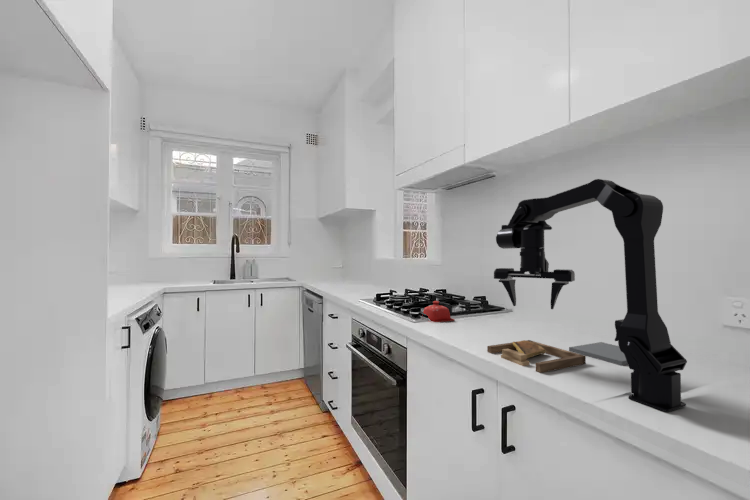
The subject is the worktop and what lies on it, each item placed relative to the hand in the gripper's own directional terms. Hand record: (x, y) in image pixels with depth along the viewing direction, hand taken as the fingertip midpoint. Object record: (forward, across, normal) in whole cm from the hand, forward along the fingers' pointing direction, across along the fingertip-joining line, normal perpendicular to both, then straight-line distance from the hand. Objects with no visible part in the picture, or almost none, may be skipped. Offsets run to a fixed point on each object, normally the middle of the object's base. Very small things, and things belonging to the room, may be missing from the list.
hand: (532, 307), depth 91 cm
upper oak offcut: (+12, +3, +6) cm, 14 cm away
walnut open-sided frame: (+13, 0, 0) cm, 13 cm away
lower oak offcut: (+14, +3, +6) cm, 15 cm away
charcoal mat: (+13, -16, -17) cm, 26 cm away
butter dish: (+14, +44, -29) cm, 54 cm away
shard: (+15, -1, +1) cm, 15 cm away
